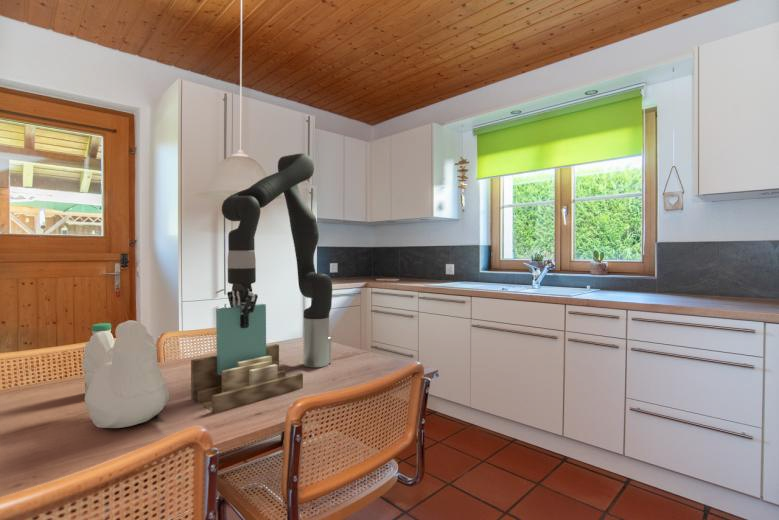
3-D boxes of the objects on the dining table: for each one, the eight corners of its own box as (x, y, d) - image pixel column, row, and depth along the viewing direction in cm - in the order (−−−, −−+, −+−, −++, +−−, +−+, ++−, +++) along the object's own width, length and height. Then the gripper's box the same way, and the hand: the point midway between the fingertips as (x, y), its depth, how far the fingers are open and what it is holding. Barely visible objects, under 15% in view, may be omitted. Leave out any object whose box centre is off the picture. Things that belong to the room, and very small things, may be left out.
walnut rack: (276, 382, 129) (276, 344, 129) (302, 392, 120) (302, 351, 119) (191, 404, 110) (191, 359, 110) (214, 419, 100) (214, 370, 100)
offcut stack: (268, 385, 121) (269, 355, 121) (277, 389, 118) (277, 358, 118) (219, 399, 110) (219, 365, 110) (227, 403, 107) (227, 369, 106)
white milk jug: (181, 420, 100) (180, 318, 99) (106, 444, 87) (105, 328, 86) (136, 397, 115) (135, 309, 114) (66, 415, 102) (65, 316, 101)
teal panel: (262, 363, 123) (262, 303, 123) (266, 364, 122) (265, 304, 121) (217, 373, 113) (216, 308, 112) (220, 375, 112) (219, 309, 111)
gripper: (266, 266, 115) (267, 328, 115) (242, 265, 124) (242, 322, 125) (241, 267, 109) (242, 332, 110) (217, 266, 119) (218, 325, 119)
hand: (242, 326), depth 117 cm, fingers closed on teal panel, 2 cm apart
